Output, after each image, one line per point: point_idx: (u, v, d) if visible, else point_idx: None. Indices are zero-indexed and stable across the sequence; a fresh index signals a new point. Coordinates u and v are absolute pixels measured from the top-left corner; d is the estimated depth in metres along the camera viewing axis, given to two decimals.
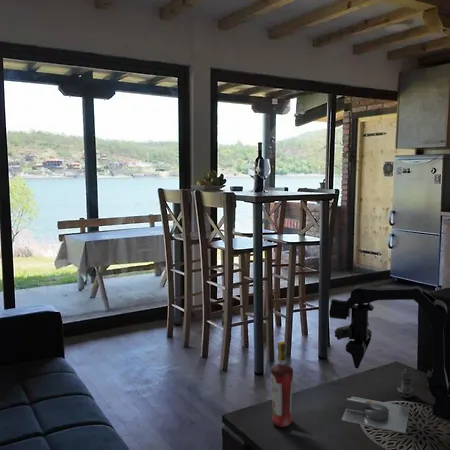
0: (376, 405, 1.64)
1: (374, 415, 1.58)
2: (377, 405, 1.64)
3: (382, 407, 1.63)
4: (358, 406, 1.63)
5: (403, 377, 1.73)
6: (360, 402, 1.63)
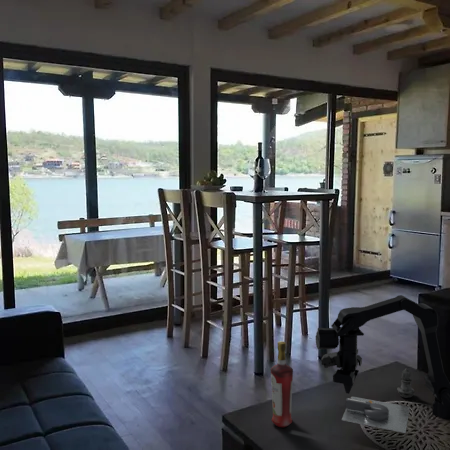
0: (376, 405, 1.64)
1: (374, 415, 1.58)
2: (377, 405, 1.64)
3: (382, 407, 1.63)
4: (358, 406, 1.63)
5: (403, 377, 1.73)
6: (360, 402, 1.63)
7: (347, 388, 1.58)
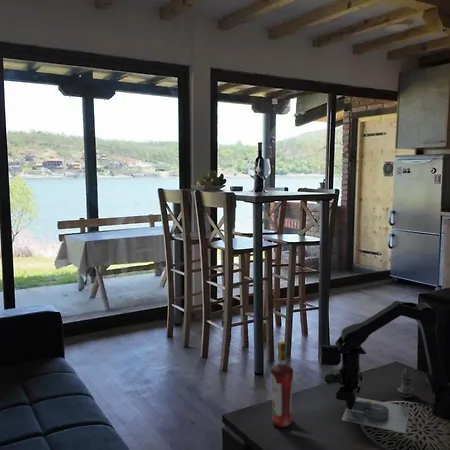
0: (376, 405, 1.64)
1: (374, 415, 1.58)
2: (377, 405, 1.64)
3: (382, 407, 1.63)
4: (358, 406, 1.63)
5: (403, 377, 1.73)
6: (360, 402, 1.63)
7: (349, 404, 1.62)
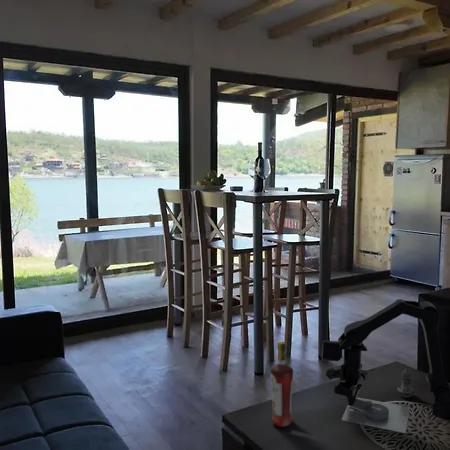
0: (378, 405, 1.64)
1: (371, 415, 1.59)
2: (379, 406, 1.64)
3: (383, 408, 1.62)
4: (359, 404, 1.65)
5: (403, 377, 1.73)
6: (361, 400, 1.64)
7: (350, 400, 1.64)
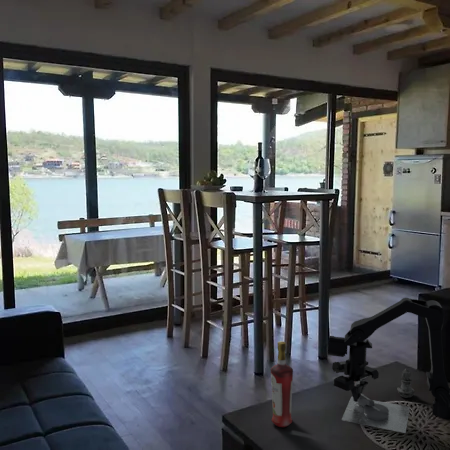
0: (381, 407, 1.63)
1: (366, 412, 1.60)
2: (382, 407, 1.63)
3: (384, 410, 1.61)
4: (363, 401, 1.66)
5: (403, 377, 1.73)
6: (364, 398, 1.66)
7: (354, 396, 1.67)
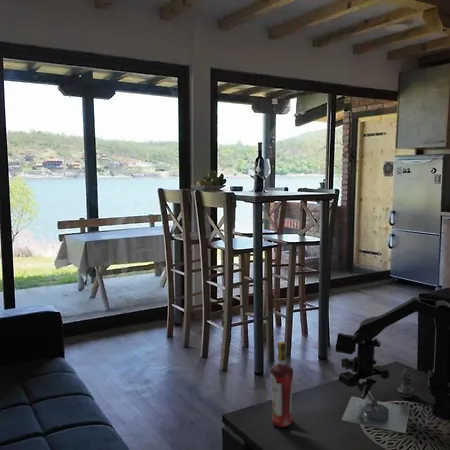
0: (383, 408, 1.62)
1: (364, 410, 1.62)
2: (384, 409, 1.61)
3: (383, 411, 1.60)
4: (368, 400, 1.67)
5: (403, 377, 1.73)
6: (370, 397, 1.66)
7: (361, 393, 1.69)
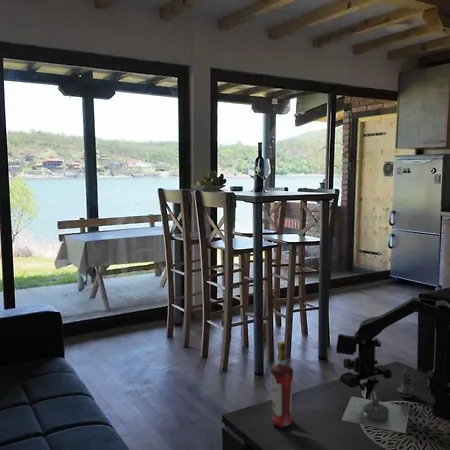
0: (384, 409, 1.61)
1: None
2: (384, 410, 1.61)
3: (382, 412, 1.59)
4: (372, 400, 1.67)
5: (403, 377, 1.73)
6: (373, 397, 1.66)
7: (363, 394, 1.69)
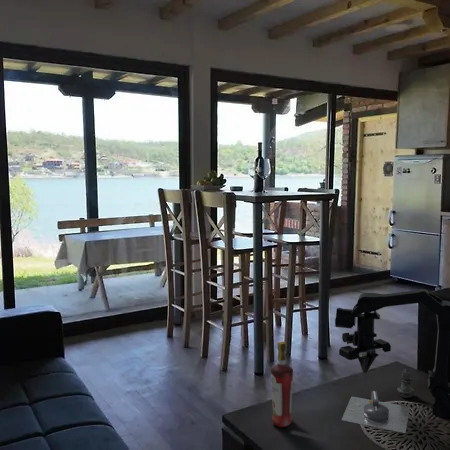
0: (384, 409, 1.61)
1: None
2: (384, 410, 1.61)
3: (382, 412, 1.59)
4: (372, 400, 1.67)
5: (403, 377, 1.73)
6: (373, 397, 1.66)
7: (362, 367, 1.68)
